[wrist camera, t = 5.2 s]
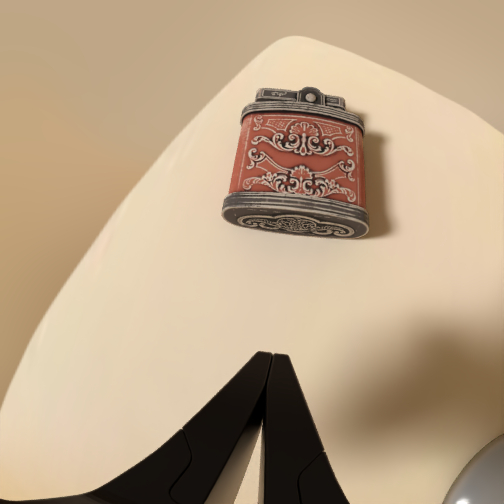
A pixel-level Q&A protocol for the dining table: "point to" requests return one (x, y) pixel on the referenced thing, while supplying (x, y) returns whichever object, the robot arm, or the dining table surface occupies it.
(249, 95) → the dining table surface
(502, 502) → the grey smooth stone
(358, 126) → the lighter
